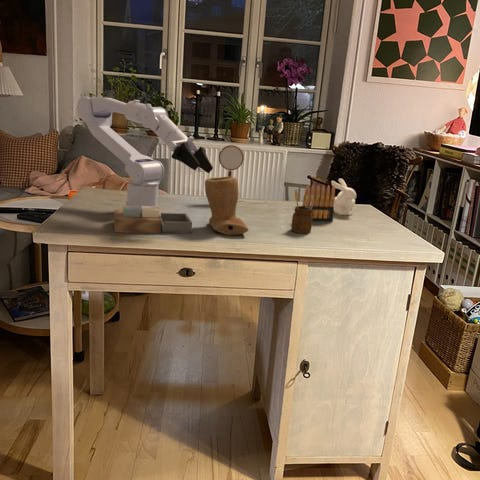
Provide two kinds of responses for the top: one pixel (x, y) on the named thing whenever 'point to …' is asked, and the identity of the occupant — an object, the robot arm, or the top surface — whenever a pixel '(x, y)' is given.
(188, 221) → the bin
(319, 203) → the ammunition clip
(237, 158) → the magnifying glass
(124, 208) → the tile slate
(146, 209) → the tile cream
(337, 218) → the top surface
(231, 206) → the tan suede boot
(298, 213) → the utensil holder
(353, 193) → the rabbit
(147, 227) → the walnut plate
